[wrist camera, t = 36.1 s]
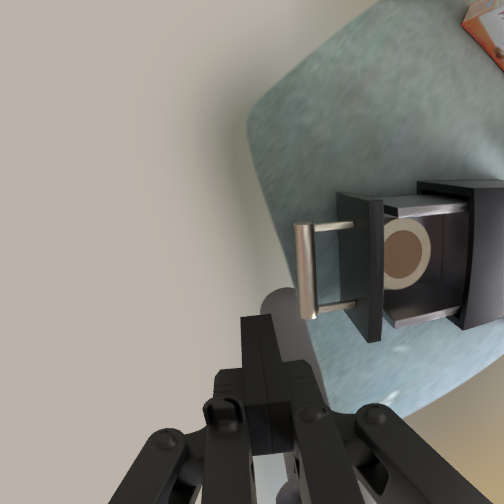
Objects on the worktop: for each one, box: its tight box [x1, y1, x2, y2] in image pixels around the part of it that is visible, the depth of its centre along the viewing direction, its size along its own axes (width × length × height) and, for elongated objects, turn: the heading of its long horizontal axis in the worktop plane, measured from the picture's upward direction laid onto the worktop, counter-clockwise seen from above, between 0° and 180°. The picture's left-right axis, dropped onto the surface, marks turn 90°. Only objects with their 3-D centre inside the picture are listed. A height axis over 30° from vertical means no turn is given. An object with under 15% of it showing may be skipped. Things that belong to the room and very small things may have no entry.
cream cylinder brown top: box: [384, 214, 431, 290], centre depth 28 cm, size 7×7×3 cm
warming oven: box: [417, 180, 504, 330], centre depth 27 cm, size 14×13×10 cm
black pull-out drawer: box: [293, 192, 469, 343], centre depth 27 cm, size 18×11×8 cm, turn 96°
